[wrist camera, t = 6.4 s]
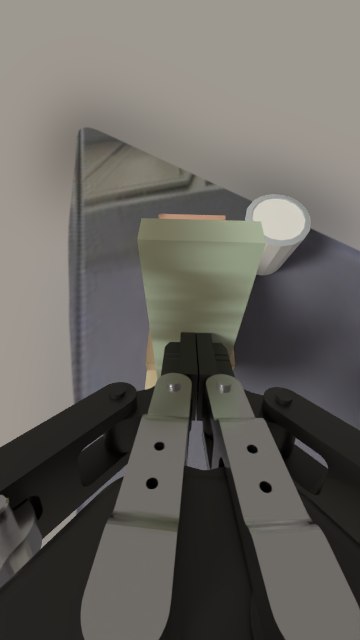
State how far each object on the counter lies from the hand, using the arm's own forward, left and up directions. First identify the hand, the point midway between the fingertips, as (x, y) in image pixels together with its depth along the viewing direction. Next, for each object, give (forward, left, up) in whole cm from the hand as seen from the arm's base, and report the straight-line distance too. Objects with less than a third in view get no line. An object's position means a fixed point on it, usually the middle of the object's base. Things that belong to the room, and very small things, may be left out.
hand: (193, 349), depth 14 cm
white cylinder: (-9, -17, -17) cm, 26 cm away
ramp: (0, -4, -8) cm, 9 cm away
